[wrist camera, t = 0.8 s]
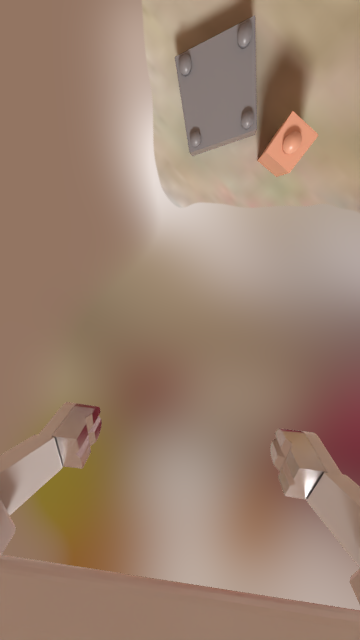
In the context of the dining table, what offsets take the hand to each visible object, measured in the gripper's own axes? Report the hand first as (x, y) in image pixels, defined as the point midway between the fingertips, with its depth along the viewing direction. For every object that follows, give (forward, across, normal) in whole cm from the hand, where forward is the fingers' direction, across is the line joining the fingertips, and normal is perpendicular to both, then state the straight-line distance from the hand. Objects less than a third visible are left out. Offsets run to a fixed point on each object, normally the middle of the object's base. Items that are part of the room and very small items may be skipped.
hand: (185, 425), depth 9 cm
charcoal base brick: (+42, -1, -31) cm, 52 cm away
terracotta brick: (+41, -14, -24) cm, 50 cm away
